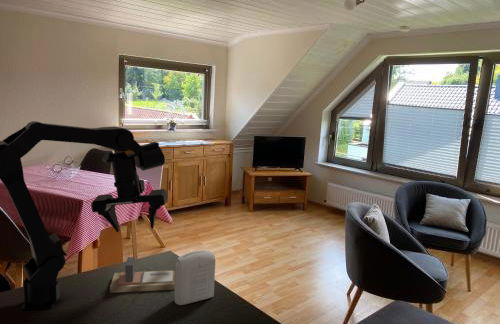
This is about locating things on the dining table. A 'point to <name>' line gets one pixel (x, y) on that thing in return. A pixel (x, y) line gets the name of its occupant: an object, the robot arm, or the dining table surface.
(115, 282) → the ticket board
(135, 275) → the stub
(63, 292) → the dining table surface
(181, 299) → the photo printer
